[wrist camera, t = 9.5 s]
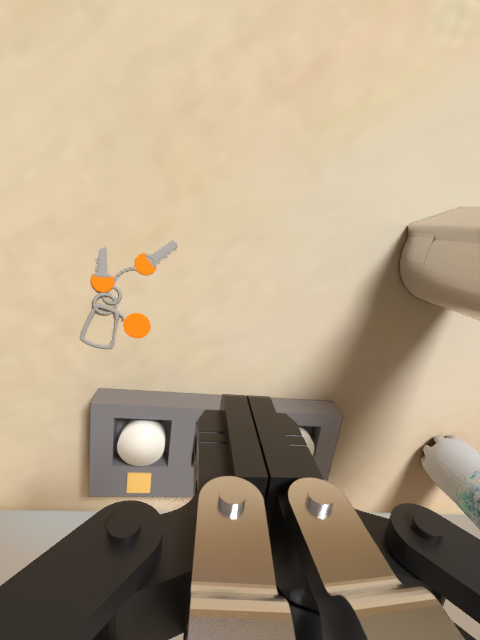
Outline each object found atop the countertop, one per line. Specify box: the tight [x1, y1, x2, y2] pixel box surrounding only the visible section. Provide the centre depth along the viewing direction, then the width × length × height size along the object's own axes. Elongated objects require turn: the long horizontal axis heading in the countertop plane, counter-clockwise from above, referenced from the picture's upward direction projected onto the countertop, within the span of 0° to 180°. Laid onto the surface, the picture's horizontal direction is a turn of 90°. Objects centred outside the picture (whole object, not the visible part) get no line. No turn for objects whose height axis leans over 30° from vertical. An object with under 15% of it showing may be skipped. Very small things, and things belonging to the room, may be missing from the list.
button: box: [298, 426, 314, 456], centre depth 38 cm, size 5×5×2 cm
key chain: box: [80, 240, 178, 349], centre depth 33 cm, size 13×7×1 cm, turn 158°
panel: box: [89, 388, 343, 497], centre depth 38 cm, size 26×11×3 cm, turn 82°
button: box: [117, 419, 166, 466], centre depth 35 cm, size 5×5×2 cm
